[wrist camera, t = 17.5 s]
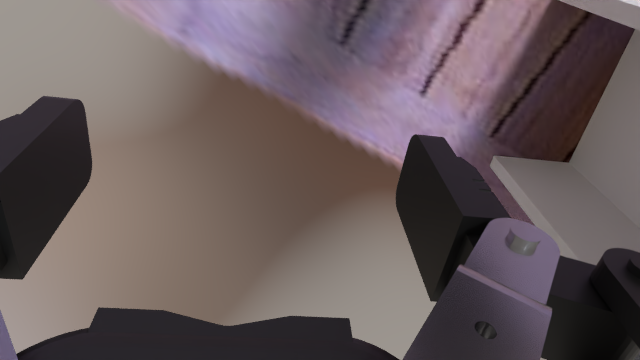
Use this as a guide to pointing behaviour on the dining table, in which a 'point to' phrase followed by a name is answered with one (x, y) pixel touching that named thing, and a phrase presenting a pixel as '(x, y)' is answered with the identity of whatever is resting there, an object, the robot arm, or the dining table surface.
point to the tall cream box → (591, 163)
